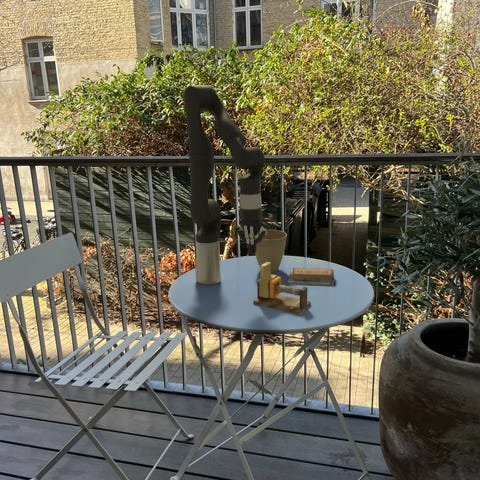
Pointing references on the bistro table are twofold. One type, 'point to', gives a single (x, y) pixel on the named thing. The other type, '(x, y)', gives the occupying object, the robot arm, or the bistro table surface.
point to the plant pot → (271, 249)
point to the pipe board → (285, 299)
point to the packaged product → (312, 276)
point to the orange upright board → (272, 293)
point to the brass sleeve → (265, 279)
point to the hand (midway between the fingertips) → (252, 253)
